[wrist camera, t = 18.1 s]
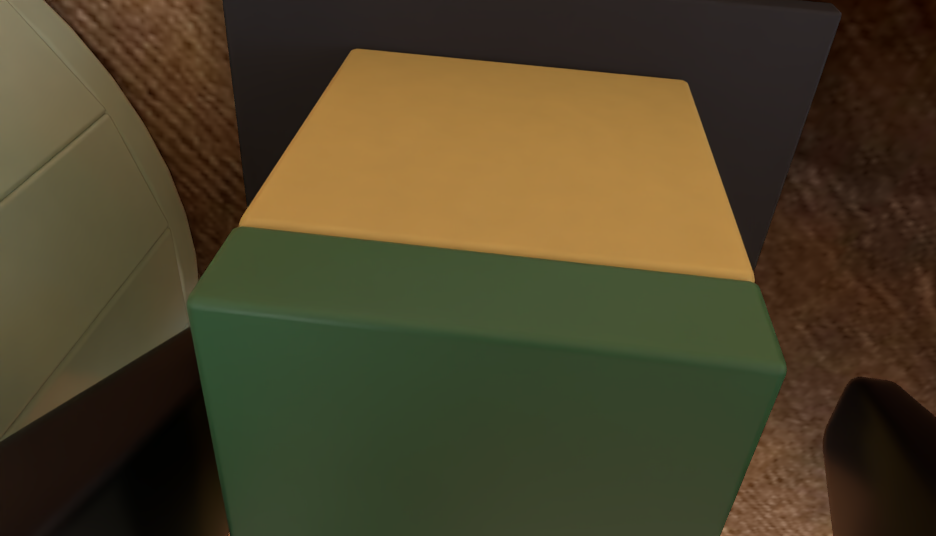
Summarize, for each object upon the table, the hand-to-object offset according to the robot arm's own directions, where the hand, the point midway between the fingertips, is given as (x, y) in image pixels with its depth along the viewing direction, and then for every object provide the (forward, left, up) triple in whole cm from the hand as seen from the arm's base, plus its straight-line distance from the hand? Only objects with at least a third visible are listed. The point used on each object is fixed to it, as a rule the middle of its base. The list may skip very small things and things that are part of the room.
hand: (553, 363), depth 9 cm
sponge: (0, +1, -2) cm, 2 cm away
